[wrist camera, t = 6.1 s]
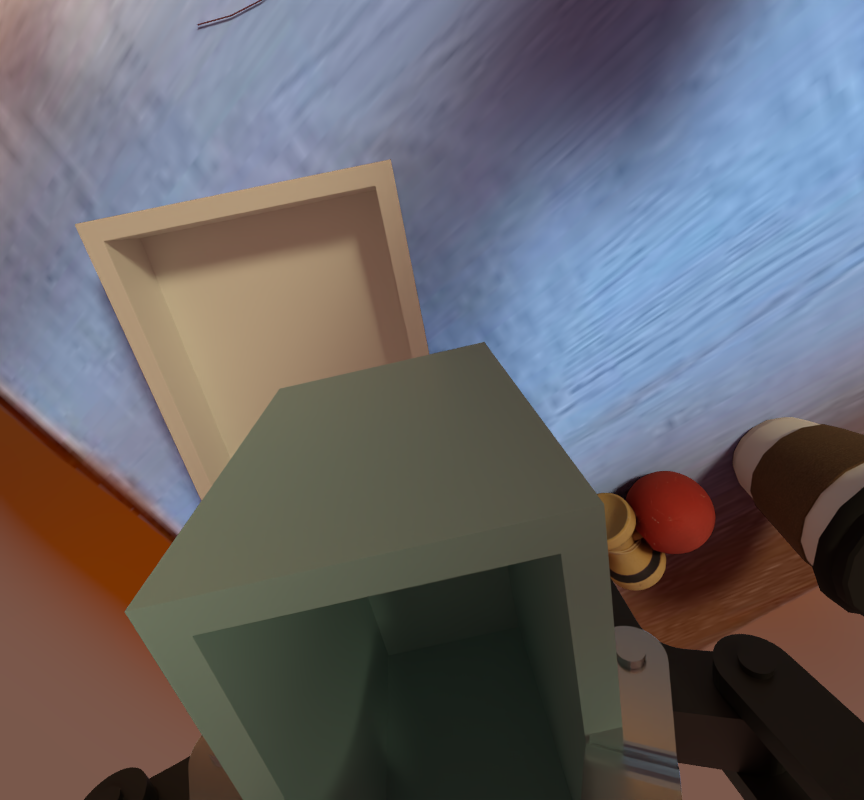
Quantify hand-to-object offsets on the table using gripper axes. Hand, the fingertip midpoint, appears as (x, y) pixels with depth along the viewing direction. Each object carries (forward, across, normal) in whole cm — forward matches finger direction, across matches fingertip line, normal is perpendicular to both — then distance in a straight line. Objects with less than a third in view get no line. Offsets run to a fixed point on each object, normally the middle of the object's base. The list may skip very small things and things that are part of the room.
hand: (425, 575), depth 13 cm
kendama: (+20, -11, +18) cm, 29 cm away
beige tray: (+20, +6, -3) cm, 21 cm away
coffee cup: (+20, -26, +14) cm, 36 cm away
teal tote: (+3, 0, 0) cm, 3 cm away
